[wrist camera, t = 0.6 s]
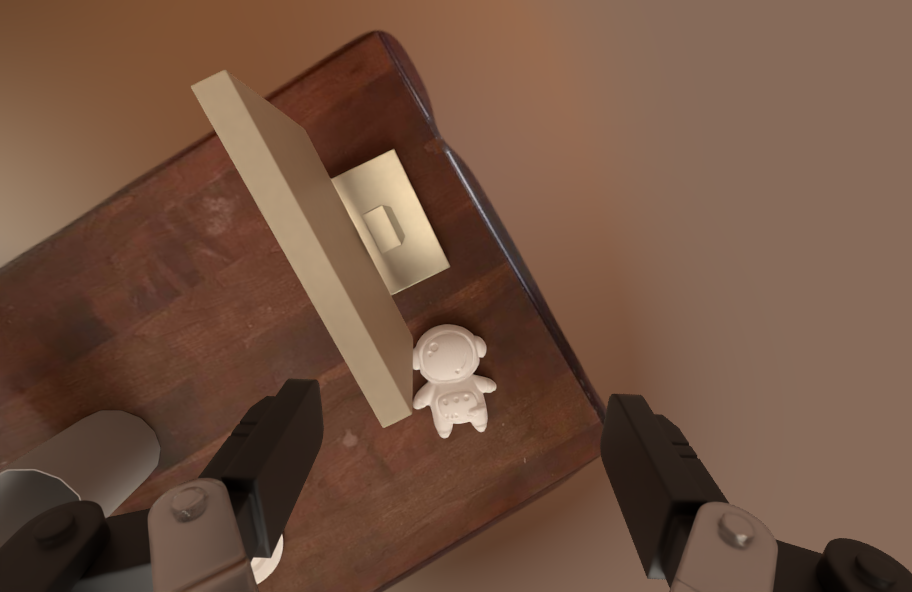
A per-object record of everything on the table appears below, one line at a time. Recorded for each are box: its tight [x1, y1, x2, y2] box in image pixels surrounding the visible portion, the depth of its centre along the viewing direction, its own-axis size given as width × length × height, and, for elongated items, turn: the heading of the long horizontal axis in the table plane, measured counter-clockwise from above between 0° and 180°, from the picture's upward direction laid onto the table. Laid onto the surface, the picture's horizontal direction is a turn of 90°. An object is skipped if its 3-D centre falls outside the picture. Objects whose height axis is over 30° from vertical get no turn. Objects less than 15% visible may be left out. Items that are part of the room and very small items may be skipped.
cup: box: [0, 410, 161, 548], centre depth 39 cm, size 8×8×10 cm
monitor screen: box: [191, 70, 413, 428], centre depth 26 cm, size 2×17×13 cm, turn 25°
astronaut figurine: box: [413, 324, 496, 438], centre depth 44 cm, size 9×12×3 cm
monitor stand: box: [331, 149, 450, 295], centre depth 36 cm, size 9×12×12 cm
